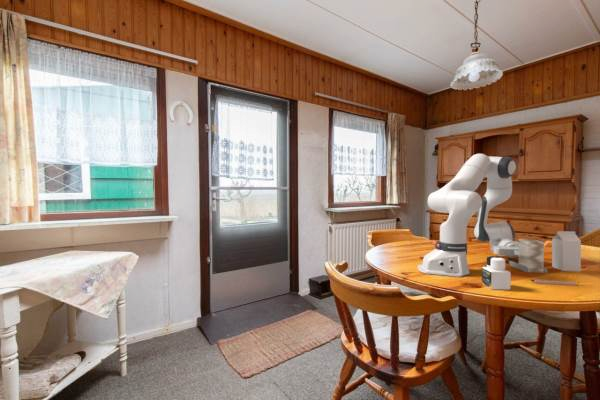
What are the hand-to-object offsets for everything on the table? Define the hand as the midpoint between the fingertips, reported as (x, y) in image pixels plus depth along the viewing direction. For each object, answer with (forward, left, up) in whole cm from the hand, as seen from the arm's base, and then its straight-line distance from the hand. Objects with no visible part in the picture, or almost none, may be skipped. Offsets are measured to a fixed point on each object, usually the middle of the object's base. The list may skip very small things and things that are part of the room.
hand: (525, 254), depth 133 cm
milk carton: (+17, +1, -8) cm, 19 cm away
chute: (0, -8, -7) cm, 11 cm away
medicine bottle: (-25, -29, -8) cm, 39 cm away
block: (0, -4, -6) cm, 8 cm away
